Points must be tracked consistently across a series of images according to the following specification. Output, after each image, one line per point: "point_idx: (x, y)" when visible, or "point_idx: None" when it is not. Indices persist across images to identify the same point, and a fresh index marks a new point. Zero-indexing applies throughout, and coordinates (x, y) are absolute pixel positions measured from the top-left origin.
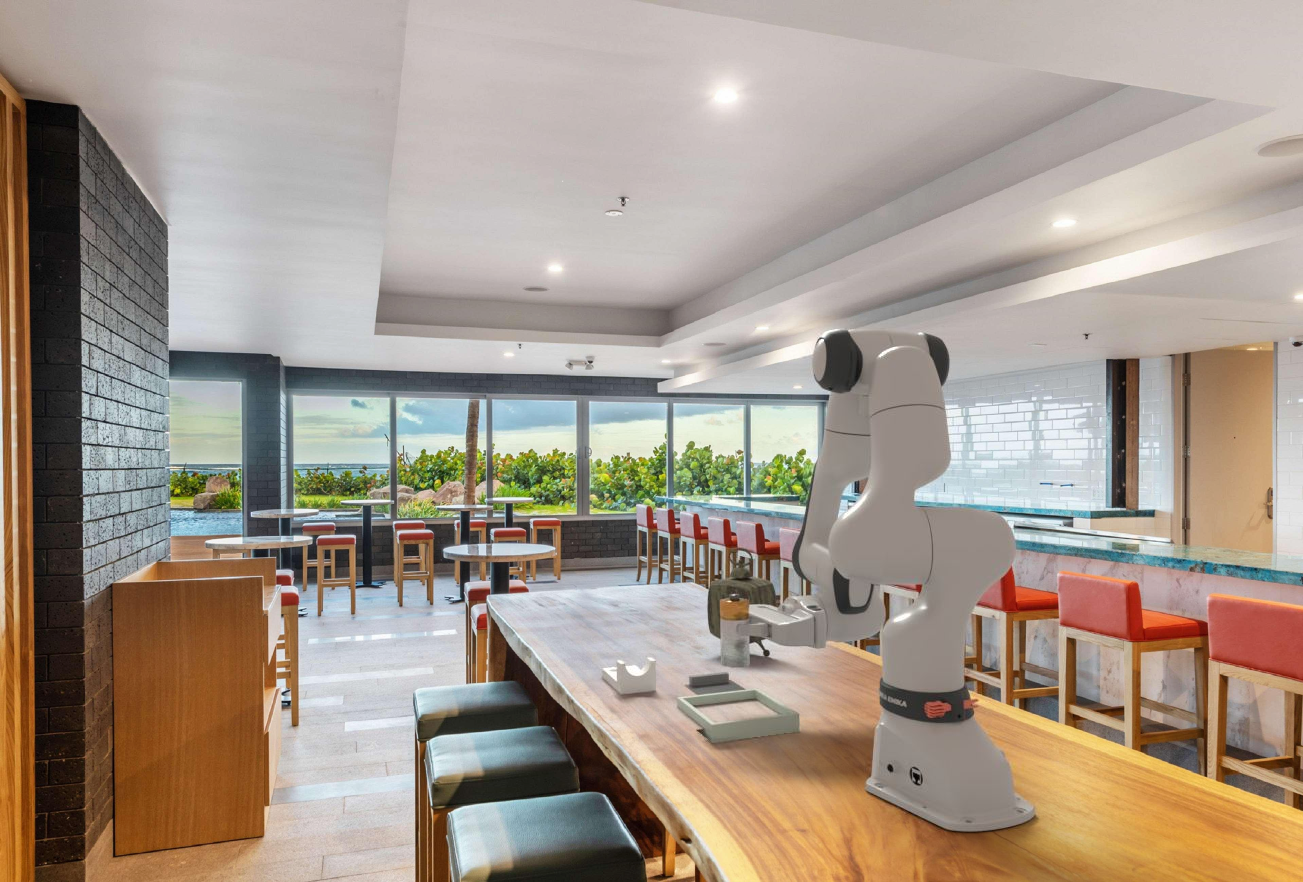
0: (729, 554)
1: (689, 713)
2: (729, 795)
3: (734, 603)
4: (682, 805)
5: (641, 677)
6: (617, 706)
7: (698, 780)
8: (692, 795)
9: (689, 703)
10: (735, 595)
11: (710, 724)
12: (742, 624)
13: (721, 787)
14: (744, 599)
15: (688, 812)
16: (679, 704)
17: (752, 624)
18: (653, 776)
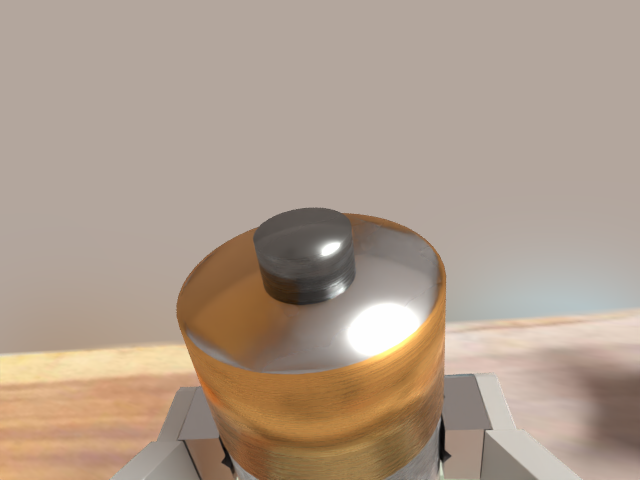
0: None
1: None
2: (4, 429)
3: (210, 257)
4: (49, 359)
5: None
6: (598, 366)
7: (95, 403)
8: (60, 379)
9: (442, 475)
10: (263, 230)
11: None
12: (202, 407)
13: (38, 428)
14: (321, 353)
15: (26, 360)
16: None
17: (138, 461)
18: (164, 348)
